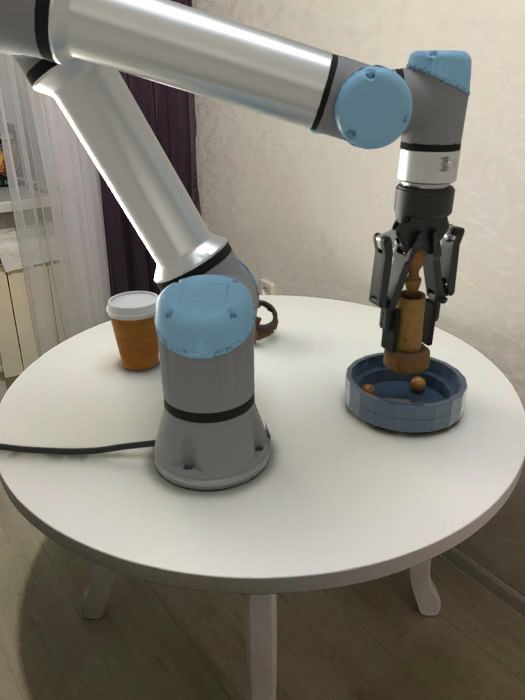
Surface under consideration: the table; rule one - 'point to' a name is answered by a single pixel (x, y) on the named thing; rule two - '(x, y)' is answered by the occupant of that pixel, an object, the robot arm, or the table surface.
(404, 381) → the bowl
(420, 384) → the bead
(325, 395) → the table surface
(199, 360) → the robot arm
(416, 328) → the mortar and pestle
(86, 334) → the table surface
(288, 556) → the table surface
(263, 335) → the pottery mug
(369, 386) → the bead
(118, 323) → the disposable coffee cup
